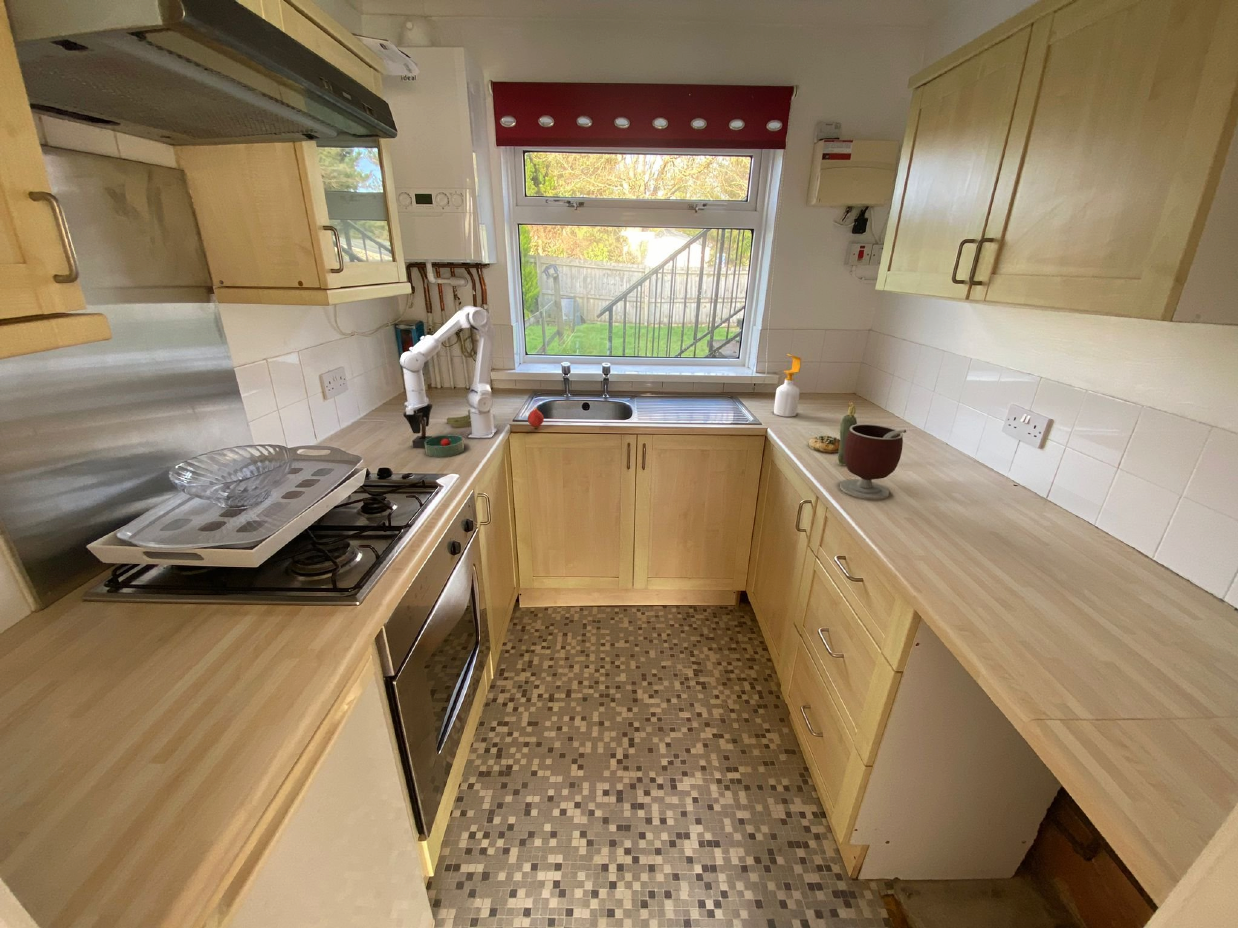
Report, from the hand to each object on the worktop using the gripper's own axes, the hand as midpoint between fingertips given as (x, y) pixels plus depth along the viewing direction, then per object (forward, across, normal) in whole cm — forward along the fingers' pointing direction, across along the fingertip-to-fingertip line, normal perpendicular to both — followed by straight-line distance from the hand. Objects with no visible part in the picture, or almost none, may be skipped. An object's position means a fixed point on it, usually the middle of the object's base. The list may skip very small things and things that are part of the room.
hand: (421, 429), depth 169 cm
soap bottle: (+6, -43, +135) cm, 142 cm away
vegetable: (+6, +15, +135) cm, 136 cm away
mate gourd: (+6, +34, +134) cm, 139 cm away
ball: (+3, +4, +9) cm, 10 cm away
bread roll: (+6, -1, +136) cm, 136 cm away
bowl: (+6, +5, +9) cm, 12 cm away
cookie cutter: (+6, -29, +8) cm, 31 cm away
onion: (+6, -20, +35) cm, 41 cm away
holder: (+6, 0, 0) cm, 6 cm away
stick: (+6, 0, 0) cm, 6 cm away
